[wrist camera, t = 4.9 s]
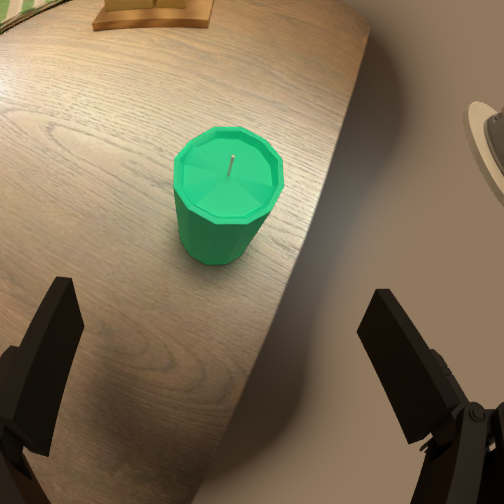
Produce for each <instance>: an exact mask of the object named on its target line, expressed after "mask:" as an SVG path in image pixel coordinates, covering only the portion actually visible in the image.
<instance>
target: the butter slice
mask: <svg viewBox="0 0 504 504" xmlns="http://www.w3.org/2000/svg"><path fill="white" fill-rule="evenodd" d="M187 2H188V0H157V8H185V7H186V5H187Z"/></svg>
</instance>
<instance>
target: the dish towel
mask: <svg viewBox="0 0 504 504" xmlns="http://www.w3.org/2000/svg"><path fill="white" fill-rule="evenodd" d="M62 1H64V0H0V34H1V33H2V32H3V31H4V30H6V29H7V28H9V27H11V26H13V25H15V24H17V23H19V22H21V21H23V20H25V19H27V18H29V17H31V16H33V15H35V14H37V13H39V12H41V11H43V10H45V9H47V8H50V7H52V6H54V5H56V4H58V3H60V2H62Z"/></svg>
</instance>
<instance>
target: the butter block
mask: <svg viewBox="0 0 504 504" xmlns="http://www.w3.org/2000/svg"><path fill="white" fill-rule="evenodd" d="M156 1H157V0H104V2H105V9H106V11H116V10H127V9H143V8H153V7H154V5H155V3H156Z"/></svg>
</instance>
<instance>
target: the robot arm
mask: <svg viewBox="0 0 504 504" xmlns="http://www.w3.org/2000/svg"><path fill="white" fill-rule="evenodd" d="M501 111H502V112H501V113H497V114H494V115H492V116H490V117H489V118H488V119H486V120H485V122H484V134H485V138H486V141H487V144H488V147H489V150H490V152H491V154H492V156H493V158H494V160H495V162H496V164H497V166H498V168H499V170H500V171H501V173H502V175H503V176H504V107H503V108H502V109H501ZM83 329H84V323H83V319H82V316H81V312H80V309H79V305H78V301H77V298H76V294H75V290H74V285H73V281H72V278H67V277H56V278H55V279H54V281H53V283H52V285H51V286H50V288H49V290H48V292H47V293H46V295H45V297H44V299H43V301H42V302H41V304H40V306H39V308H38V310H37V312H36V314H35V316H34V318H33V320H32V322H31V324H30V326H29V328H28V330H27V332H26V334H25V336H24V338H23V340H22V342H21V344H20V346H19V347H16V346H11V345H10V346H9V348H8V349H7V350H6V351H5V352H4V353H3V354H2V355H1V357H0V504H51V503H50V501H49V500H48V498H47V496H46V495H45V493H44V491H43V489H42V488H41V486H40V484H39V482H38V480H37V479H36V477H35V475H34V473H33V471H32V469H31V467H30V465H29V463H28V461H27V459H26V457H25V455H24V454H23V452H22V451H23V446H25V447H26V448H27V449H28V450H29V451H30V452H33V453H36V454H40V455H43V456H47V457H49V452H50V447H51V442H52V437H53V432H54V428H55V424H56V419H57V415H58V411H59V407H60V403H61V400H62V396H63V392H64V389H65V385H66V382H67V378H68V375H69V372H70V368H71V365H72V362H73V359H74V356H75V353H76V349H77V346H78V344H79V341H80V338H81V335H82V332H83ZM357 334H358V336H359V338H360V340H361V342H362V344H363V346H364V348H365V350H366V352H367V354H368V356H369V358H370V360H371V362H372V365H373V367H374V369H375V371H376V373H377V375H378V377H379V379H380V381H381V383H382V386H383V388H384V390H385V392H386V394H387V396H388V399H389V401H390V403H391V405H392V407H393V410H394V412H395V414H396V417H397V419H398V421H399V423H400V425H401V428H402V430H403V433H404V435H405V437H406V439H407V442H408V444H412V443H414V442H417V441H420V440H423V439H424V438H425V437H426V436H427V435H428V434H429V433H430V432H431V434H432V436H433V437H432V438H431V439H430V440H429V441H428V442H426V443H425V444H424V445H423V446H421V448H420V451H422V450H423V449H425V448H426V447H427V446H428V448H427V450H426V451H425V453H426V455H425V459H424V463H423V466H422V469H421V473H420V476H419V479H418V482H417V485H416V488H415V491H414V494H413V497H412V500H411V503H410V504H504V402H502V403H501V404H500V405H499V406H498V407H497V408H496V409H484V408H483V407H482V406H481V405H480V404H478V403H476V402H469V401H468V399H467V397H466V396H465V394H464V392H463V391H462V389H461V387H460V385H459V384H458V382H457V381H456V379H455V377H454V375H452V372H451V371H450V369H449V368H448V367H447V364H446V363H445V361H444V359H443V358H442V356H441V355H439V354H438V353H437V352H436V351H435V350H434V349H429V347H428V346H427V344H426V343H425V341H424V340H423V338H422V336H421V335H420V333H419V332H418V330H417V329H416V327H415V326H414V324H413V323H412V321H411V320H410V318H409V317H408V315H407V314H406V312H405V311H404V310H403V308H402V307H401V305H400V304H399V302H398V301H397V299H396V298H395V297H394V295H393V294H392V292H391V291H390V289H376V290H375V292H374V294H373V297H372V299H371V301H370V304H369V306H368V308H367V310H366V313H365V315H364V317H363V319H362V321H361V323H360V325H359V328H358V330H357ZM494 442H495V446H496V448H495V449H494V450H492V451H490V449H489V446H490V445H492V444H493V443H494Z"/></svg>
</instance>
